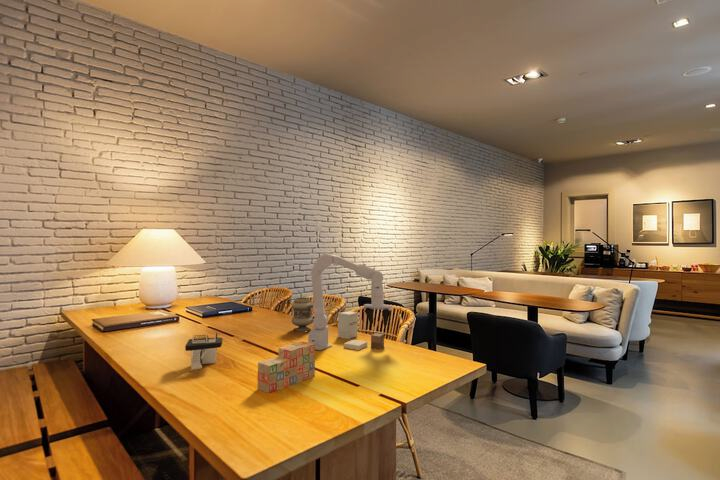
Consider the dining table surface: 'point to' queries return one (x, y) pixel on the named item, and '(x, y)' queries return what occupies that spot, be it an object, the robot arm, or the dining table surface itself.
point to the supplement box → (347, 324)
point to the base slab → (355, 344)
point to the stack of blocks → (287, 367)
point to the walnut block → (377, 341)
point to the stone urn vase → (302, 313)
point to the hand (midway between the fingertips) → (378, 324)
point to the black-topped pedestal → (203, 350)
